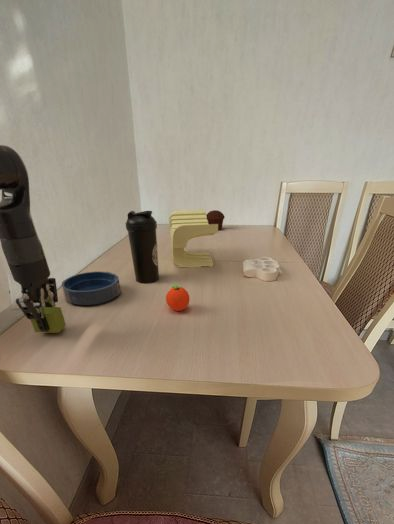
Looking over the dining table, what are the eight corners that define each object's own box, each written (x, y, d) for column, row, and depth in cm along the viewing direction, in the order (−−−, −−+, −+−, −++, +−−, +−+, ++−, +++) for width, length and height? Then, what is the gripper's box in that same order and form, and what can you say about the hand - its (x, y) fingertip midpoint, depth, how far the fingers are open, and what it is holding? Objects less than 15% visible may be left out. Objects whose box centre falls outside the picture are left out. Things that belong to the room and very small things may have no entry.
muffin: (210, 232, 169) (211, 213, 163) (201, 228, 177) (201, 210, 171) (228, 229, 174) (228, 211, 168) (218, 226, 182) (218, 208, 176)
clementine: (162, 305, 90) (160, 283, 86) (183, 301, 93) (182, 279, 89) (171, 316, 84) (169, 293, 80) (193, 312, 87) (193, 289, 83)
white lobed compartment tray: (242, 264, 121) (278, 265, 120) (243, 280, 107) (284, 281, 105) (242, 256, 120) (279, 257, 118) (244, 271, 105) (286, 272, 103)
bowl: (56, 306, 91) (51, 291, 88) (78, 284, 105) (74, 271, 103) (112, 307, 90) (109, 292, 87) (126, 285, 104) (124, 271, 102)
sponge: (35, 332, 72) (28, 314, 69) (43, 324, 76) (36, 306, 73) (58, 332, 72) (53, 314, 69) (65, 324, 75) (60, 306, 72)
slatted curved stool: (171, 253, 136) (168, 211, 126) (205, 251, 138) (205, 209, 128) (175, 275, 112) (172, 225, 102) (216, 273, 113) (218, 224, 103)
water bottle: (159, 284, 105) (153, 214, 92) (131, 284, 105) (120, 214, 92) (162, 274, 113) (157, 208, 100) (136, 274, 113) (127, 209, 101)
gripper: (26, 248, 70) (48, 312, 79) (-12, 268, 58) (19, 341, 68) (57, 247, 69) (75, 313, 79) (24, 268, 58) (50, 341, 67)
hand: (49, 325), depth 73 cm, fingers closed on sponge, 4 cm apart
